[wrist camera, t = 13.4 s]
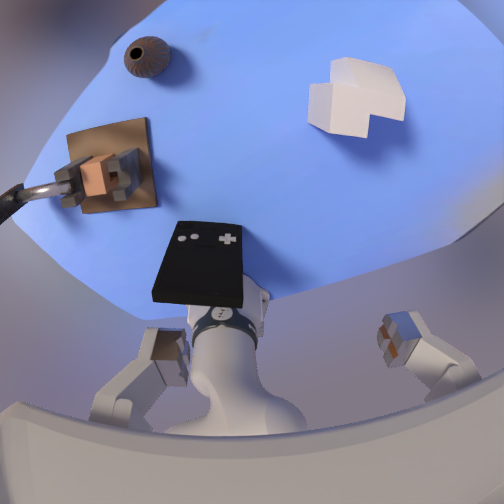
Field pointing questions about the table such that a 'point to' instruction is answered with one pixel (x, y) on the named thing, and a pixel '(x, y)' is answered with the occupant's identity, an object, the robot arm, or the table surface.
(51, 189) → the shaft
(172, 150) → the table surface
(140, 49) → the vase
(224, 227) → the handheld gaming console
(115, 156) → the shaft stand
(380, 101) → the corner bracket
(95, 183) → the block
